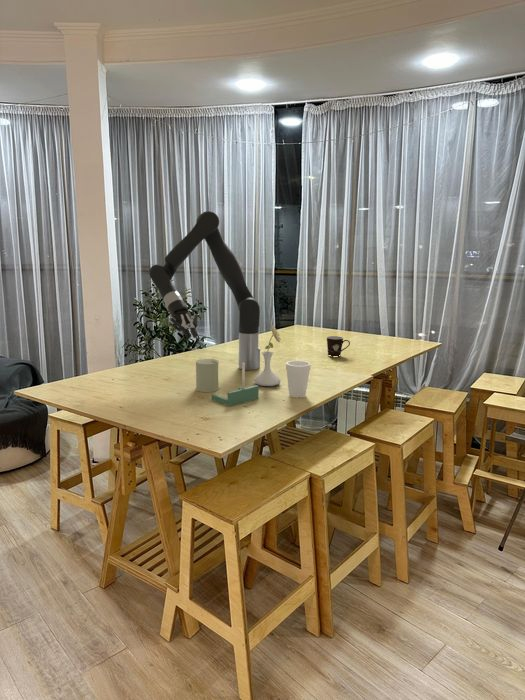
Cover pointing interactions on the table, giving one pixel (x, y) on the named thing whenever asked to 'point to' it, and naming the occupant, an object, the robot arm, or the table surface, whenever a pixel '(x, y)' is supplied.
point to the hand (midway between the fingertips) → (192, 337)
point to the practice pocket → (238, 393)
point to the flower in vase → (268, 365)
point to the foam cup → (297, 377)
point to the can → (207, 375)
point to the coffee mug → (335, 345)
